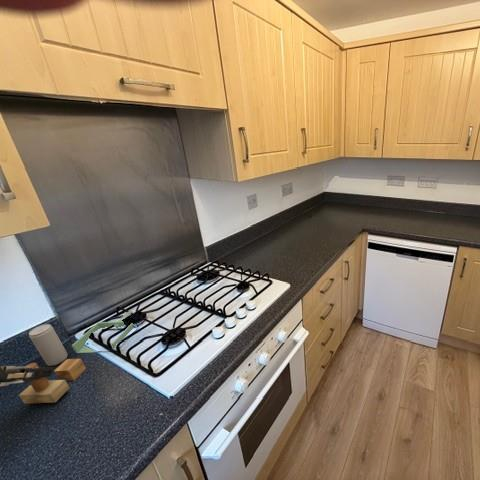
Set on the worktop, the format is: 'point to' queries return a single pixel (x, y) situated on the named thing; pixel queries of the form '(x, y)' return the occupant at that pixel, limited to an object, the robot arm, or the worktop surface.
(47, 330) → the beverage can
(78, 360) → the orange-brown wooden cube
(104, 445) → the worktop surface
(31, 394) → the wooden t-shaped piece
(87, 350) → the pale green curved piece
